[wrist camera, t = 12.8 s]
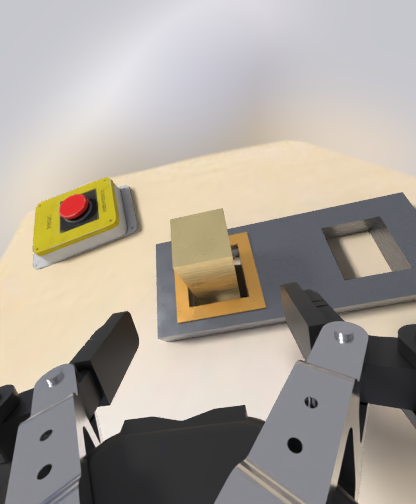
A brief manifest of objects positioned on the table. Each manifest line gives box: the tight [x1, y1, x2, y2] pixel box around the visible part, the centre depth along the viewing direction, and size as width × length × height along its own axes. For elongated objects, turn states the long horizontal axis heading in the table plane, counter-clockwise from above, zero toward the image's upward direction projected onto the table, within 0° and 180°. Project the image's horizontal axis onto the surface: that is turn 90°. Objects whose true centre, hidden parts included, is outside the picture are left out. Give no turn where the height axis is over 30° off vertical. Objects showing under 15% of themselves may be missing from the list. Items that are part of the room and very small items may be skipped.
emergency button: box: [33, 178, 138, 269], centre depth 31 cm, size 9×4×15 cm
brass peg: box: [170, 208, 240, 305], centre depth 20 cm, size 4×4×10 cm
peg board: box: [156, 192, 416, 342], centre depth 23 cm, size 26×10×3 cm, turn 97°
